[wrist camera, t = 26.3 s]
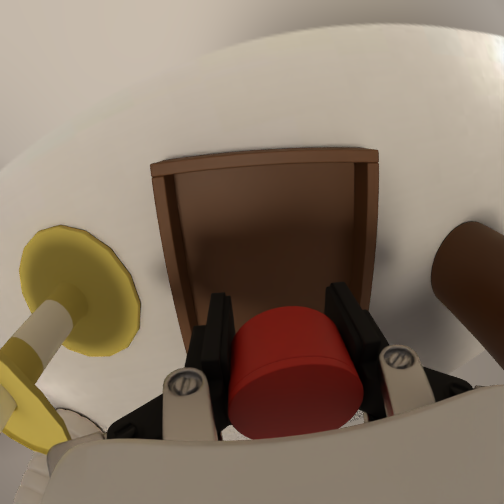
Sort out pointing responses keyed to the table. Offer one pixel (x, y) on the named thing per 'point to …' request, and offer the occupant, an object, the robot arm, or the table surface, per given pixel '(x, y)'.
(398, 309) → the table surface
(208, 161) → the tray
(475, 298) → the bottle
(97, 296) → the candle
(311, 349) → the cap
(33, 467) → the white ribbed tube
